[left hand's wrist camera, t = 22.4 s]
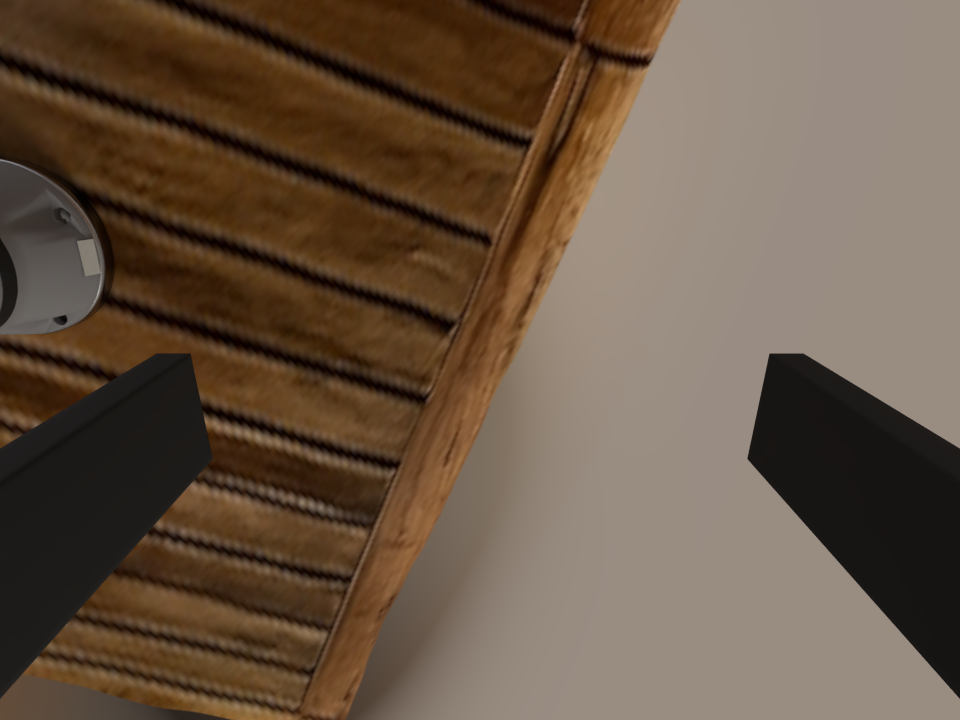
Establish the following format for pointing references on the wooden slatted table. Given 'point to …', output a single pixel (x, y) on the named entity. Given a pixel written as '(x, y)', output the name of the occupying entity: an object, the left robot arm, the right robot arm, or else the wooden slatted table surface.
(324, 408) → the wooden slatted table surface
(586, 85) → the wooden slatted table surface
